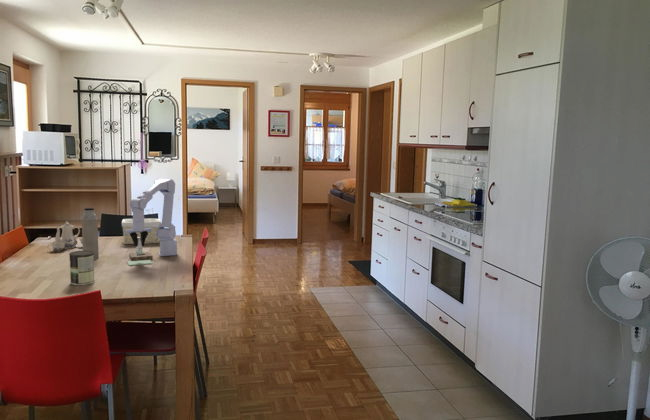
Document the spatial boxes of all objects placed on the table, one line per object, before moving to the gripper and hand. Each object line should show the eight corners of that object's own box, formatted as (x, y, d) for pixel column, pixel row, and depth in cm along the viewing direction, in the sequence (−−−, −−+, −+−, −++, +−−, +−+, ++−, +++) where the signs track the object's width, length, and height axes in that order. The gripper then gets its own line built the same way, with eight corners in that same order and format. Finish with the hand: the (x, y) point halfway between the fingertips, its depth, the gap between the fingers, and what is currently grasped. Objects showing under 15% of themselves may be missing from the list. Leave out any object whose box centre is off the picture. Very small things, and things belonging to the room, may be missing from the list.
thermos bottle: (90, 255, 302) (88, 207, 298) (101, 257, 299) (100, 207, 296) (79, 258, 294) (77, 208, 291) (91, 260, 292) (89, 209, 288)
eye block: (149, 256, 304) (149, 251, 304) (152, 260, 294) (152, 255, 294) (129, 257, 299) (129, 253, 299) (131, 261, 290) (131, 257, 289)
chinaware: (55, 256, 307) (55, 228, 304) (39, 249, 316) (39, 222, 313) (99, 248, 330) (99, 222, 327) (82, 242, 339) (83, 217, 336)
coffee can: (66, 285, 241) (65, 254, 239) (75, 279, 251) (74, 250, 249) (90, 285, 242) (89, 255, 240) (97, 279, 252) (96, 250, 250)
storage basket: (160, 239, 357) (160, 217, 355) (161, 243, 342) (161, 221, 340) (122, 240, 349) (122, 218, 347) (122, 245, 334) (121, 222, 332)
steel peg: (141, 253, 288) (140, 236, 287) (143, 254, 286) (142, 237, 285) (135, 253, 287) (134, 237, 285) (137, 254, 284) (136, 238, 283)
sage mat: (150, 260, 293) (149, 259, 293) (152, 264, 285) (152, 262, 285) (126, 262, 288) (126, 261, 288) (128, 265, 280) (128, 264, 280)
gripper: (148, 218, 291) (149, 243, 293) (122, 220, 282) (122, 246, 284) (154, 220, 286) (154, 245, 288) (127, 222, 277) (127, 248, 278)
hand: (139, 245), depth 285 cm, fingers closed on steel peg, 3 cm apart
